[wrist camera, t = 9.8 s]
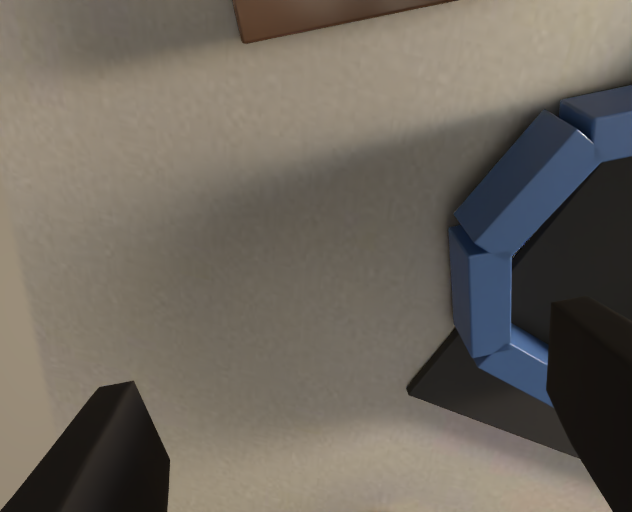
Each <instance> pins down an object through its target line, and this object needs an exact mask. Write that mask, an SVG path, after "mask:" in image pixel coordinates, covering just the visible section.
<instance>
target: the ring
mask: <svg viewBox="0 0 632 512" xmlns="http://www.w3.org/2000/svg"><path fill="white" fill-rule="evenodd" d="M630 156H632V85H629V86H625V87H620V88H615V89H610V90H605V91H600V92H596V93H591V94H586V95H581V96H576V97H571V98H567V99H562V100H560V105H559V117H557V116H556V115H554V114H552V113H551V112H549V111H548V110H546V109H544V110H542V112H541V113H540V114H539V115H538V116H537V117H536V119H535V120H534V121H533V122H532V123H531V124H530V126H529V127H528V128H527V129H526V130H525V131H524V132H523V134H522V135H521V136H520V137H519V138H518V139H517V141H516V142H515V143H514V144H513V145H512V146H511V147H510V149H509V150H508V151H507V152H506V153H505V154H504V156H503V157H502V158H501V159H500V160H499V161H498V163H497V164H496V165H495V166H494V167H493V168H492V169H491V171H490V172H489V173H488V174H487V175H486V176H485V178H484V179H483V180H482V181H481V182H480V183H479V184H478V186H477V187H476V188H475V189H474V190H473V191H472V193H471V194H470V195H469V196H468V197H467V198H466V200H465V201H464V202H463V203H462V204H461V205H460V206H459V208H458V209H457V210H456V211H455V212H454V216H455V217H456V219H457V220H458V221H459V223H460V224H461V225H457V226H452V227H449V229H448V232H449V249H450V267H451V285H452V302H453V320H454V325H455V327H456V329H457V331H458V333H459V335H460V337H461V338H462V340H463V342H464V344H465V346H466V348H467V350H468V352H469V354H470V356H471V357H472V358H473V359H474V361H475V363H476V365H477V367H478V368H480V369H482V370H483V371H485V372H487V373H489V374H491V375H493V376H495V377H497V378H499V379H500V380H502V381H504V382H506V383H508V384H510V385H512V386H514V387H515V388H517V389H519V390H521V391H523V392H525V393H527V394H529V395H531V396H532V397H534V398H536V399H538V400H540V401H542V402H544V403H546V404H548V405H549V406H551V407H553V405H552V402H551V400H550V398H549V396H548V394H547V391H546V381H547V364H548V347H549V345H548V344H546V343H545V342H543V341H541V340H539V339H538V338H536V337H534V336H533V335H531V334H529V333H528V332H526V331H524V330H522V329H521V328H519V327H517V326H516V325H514V324H512V323H511V280H512V256H513V255H514V254H515V252H516V251H517V250H518V249H519V248H520V247H521V246H522V245H523V244H524V243H525V242H526V241H527V240H528V239H529V238H530V237H531V236H532V235H533V233H534V232H535V231H536V230H537V229H538V228H539V227H540V226H541V225H542V224H543V223H544V222H545V221H546V220H547V219H548V218H549V217H550V216H551V215H552V213H553V212H554V211H555V210H556V209H557V208H558V207H559V206H560V205H561V204H562V203H563V202H564V201H565V200H566V199H567V198H568V197H569V196H570V194H571V193H572V192H573V191H574V190H575V189H576V188H577V187H578V186H579V185H580V184H581V183H582V182H583V181H584V180H585V179H586V178H587V177H588V176H589V174H590V173H591V172H592V171H593V170H594V169H595V168H596V167H597V166H598V165H599V164H600V163H601V162H606V161H611V160H616V159H621V158H625V157H630ZM553 408H554V407H553Z"/></svg>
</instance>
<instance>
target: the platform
mask: <svg viewBox="0 0 632 512" xmlns="http://www.w3.org/2000/svg"><path fill="white" fill-rule="evenodd" d="M453 1H458V0H232V2H233V6H234V11H235V15H236V19H237V24H238V28H239V32H240V37H241V41H242V42H243V43H244V44H248V43H253V42H258V41H262V40H267V39H272V38H277V37H282V36H287V35H292V34H297V33H301V32H306V31H311V30H316V29H321V28H326V27H331V26H336V25H340V24H345V23H350V22H355V21H360V20H365V19H370V18H375V17H379V16H384V15H389V14H394V13H399V12H404V11H409V10H414V9H419V8H423V7H428V6H433V5H438V4H443V3H448V2H453Z"/></svg>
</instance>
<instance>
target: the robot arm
mask: <svg viewBox="0 0 632 512" xmlns="http://www.w3.org/2000/svg"><path fill="white" fill-rule="evenodd" d="M546 391H547V394H548V396H549V398H550V400H551V402H552V405H553V407H554V409H555V411H556V413H557V416H558V418H559V420H560V422H561V424H562V426H563V428H564V430H565V433H566V435H567V437H568V439H569V441H570V443H571V445H572V446H573V448H574V450H575V451H576V453H577V455H578V456H579V458H580V460H581V461H582V463H583V464H584V466H585V468H586V469H587V471H588V472H589V474H590V476H591V477H592V479H593V480H594V482H595V484H596V485H597V487H598V489H599V490H600V492H601V493H602V495H603V496H604V498H605V500H606V501H607V503H608V504H609V506H610V508H611V509H612V511H613V512H632V321H631V320H629V319H627V318H625V317H624V316H622V315H620V314H619V313H617V312H615V311H613V310H612V309H610V308H608V307H607V306H605V305H603V304H601V303H600V302H598V301H596V300H594V299H592V298H590V297H588V296H583V297H578V298H572V299H567V300H562V301H556V302H551V314H550V331H549V347H548V364H547V381H546ZM169 471H170V459H169V456H168V454H167V452H166V450H165V448H164V446H163V443H162V441H161V439H160V437H159V435H158V432H157V430H156V428H155V426H154V424H153V422H152V419H151V417H150V415H149V413H148V411H147V409H146V406H145V404H144V402H143V400H142V398H141V395H140V393H139V391H138V389H137V387H136V385H135V382H134V381H130V382H124V383H119V384H114V385H108V386H103V387H99V388H98V389H97V390H96V391H95V393H94V394H93V395H92V396H91V397H90V399H89V400H88V401H87V402H86V404H85V405H84V406H83V408H82V409H81V410H80V411H79V413H78V414H77V415H76V417H75V418H74V419H73V420H72V422H71V423H70V424H69V426H68V427H67V428H66V429H65V431H64V432H63V433H62V435H61V436H60V437H59V439H58V440H57V441H56V442H55V444H54V445H53V446H52V448H51V449H50V450H49V451H48V453H47V454H46V455H45V457H44V458H43V459H42V460H41V461H40V463H39V464H38V465H37V466H36V468H35V469H34V470H33V471H32V473H31V474H30V475H29V476H28V478H27V479H26V480H25V482H24V483H23V484H22V485H21V487H20V488H19V489H18V490H17V492H16V493H15V494H14V495H13V497H12V498H11V499H10V500H9V501H8V502H7V504H6V505H5V506H4V507H3V508H2V509H1V511H0V512H167V506H168V492H169Z"/></svg>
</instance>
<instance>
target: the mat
mask: <svg viewBox="0 0 632 512" xmlns="http://www.w3.org/2000/svg"><path fill="white" fill-rule="evenodd" d="M583 296H588V297H590V298H592V299H594V300H596V301H598V302H600V303H601V304H603V305H605V306H607V307H608V308H610V309H612V310H613V311H615V312H617V313H619V314H620V315H622V316H624V317H625V318H627V319H629V320H631V321H632V156H630V157H625V158H621V159H616V160H611V161H606V162H601V163H600V164H599V165H598V166H597V167H596V168H595V169H594V170H593V171H592V172H591V173H590V174H589V176H588V177H587V178H586V179H585V180H584V181H583V182H582V183H581V184H580V185H579V186H578V187H577V188H576V189H575V190H574V191H573V192H572V193H571V194H570V196H569V197H568V198H567V199H566V200H565V201H564V202H563V203H562V204H561V205H560V206H559V207H558V208H557V209H556V210H555V211H554V212H553V213H552V215H551V216H550V217H549V218H548V219H547V220H546V221H545V222H544V223H543V224H542V225H541V226H540V227H539V228H538V230H537V231H536V232H535V233H534V234H533V236H532V237H531V238H530V239H529V241H528V242H527V243H526V244H525V245H524V247H523V248H522V249H521V250H520V251H519V253H518V254H517V255H516V256H515V257H514V259H513V260H512V280H511V323H512V324H514V325H516V326H517V327H519V328H521V329H522V330H524V331H526V332H528V333H529V334H531V335H533V336H534V337H536V338H538V339H539V340H541V341H543V342H545V343H546V344H548V345H549V331H550V314H551V302H556V301H562V300H567V299H572V298H578V297H583ZM406 389H407V392H408V395H410V396H413V397H415V398H418V399H421V400H423V401H426V402H429V403H432V404H434V405H437V406H440V407H442V408H445V409H448V410H450V411H453V412H456V413H458V414H461V415H464V416H466V417H469V418H472V419H475V420H477V421H480V422H483V423H485V424H488V425H491V426H493V427H496V428H499V429H501V430H504V431H507V432H509V433H512V434H515V435H517V436H520V437H523V438H526V439H528V440H531V441H534V442H536V443H539V444H542V445H544V446H547V447H550V448H552V449H555V450H558V451H560V452H563V453H566V454H569V455H571V456H574V457H577V458H579V456H578V455H577V453H576V451H575V450H574V448H573V446H572V445H571V443H570V441H569V439H568V437H567V435H566V433H565V430H564V428H563V426H562V424H561V422H560V420H559V418H558V416H557V413H556V411H555V409H554V408H553V407H551V406H549V405H548V404H546V403H544V402H542V401H540V400H538V399H536V398H534V397H532V396H531V395H529V394H527V393H525V392H523V391H521V390H519V389H517V388H515V387H514V386H512V385H510V384H508V383H506V382H504V381H502V380H500V379H499V378H497V377H495V376H493V375H491V374H489V373H487V372H485V371H483V370H482V369H480V368H478V367H477V365H476V363H475V361H474V359H473V358H472V357H471V356H470V354H469V352H468V350H467V348H466V346H465V344H464V342H463V340H462V338H461V337H460V335H459V333H458V331H457V329H455V330H454V331H453V332H452V334H451V335H450V336H449V337H448V338H447V340H446V341H445V342H444V343H443V345H442V346H441V347H440V348H439V349H438V351H437V352H436V353H435V354H434V355H433V357H432V358H431V359H430V360H429V361H428V363H427V364H426V365H425V366H424V367H423V369H422V370H421V371H420V372H419V374H418V375H417V376H416V377H415V378H414V380H413V381H412V382H411V383H410V384H409V386H408V387H407V388H406ZM579 459H580V458H579Z"/></svg>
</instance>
